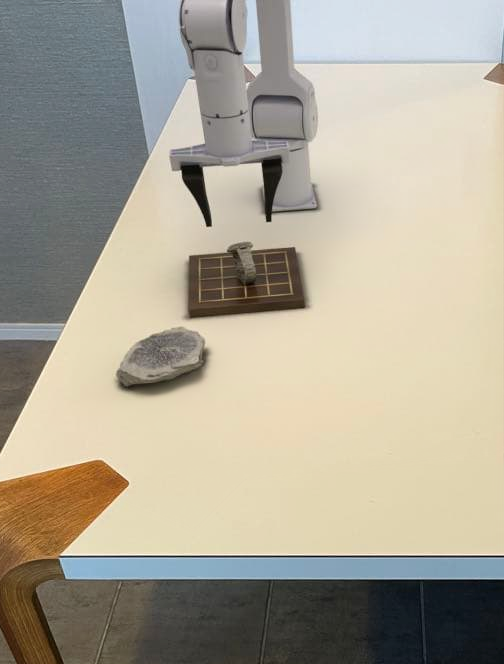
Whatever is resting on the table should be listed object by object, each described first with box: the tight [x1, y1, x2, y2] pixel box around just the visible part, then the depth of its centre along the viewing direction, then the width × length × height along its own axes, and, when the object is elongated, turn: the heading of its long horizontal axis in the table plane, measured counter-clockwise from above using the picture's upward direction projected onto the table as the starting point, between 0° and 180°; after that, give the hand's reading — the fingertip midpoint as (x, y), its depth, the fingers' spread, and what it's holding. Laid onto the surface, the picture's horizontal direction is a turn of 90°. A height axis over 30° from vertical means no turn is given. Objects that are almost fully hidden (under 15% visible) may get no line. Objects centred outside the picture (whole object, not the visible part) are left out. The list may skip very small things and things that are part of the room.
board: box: [187, 246, 306, 318], centre depth 116 cm, size 15×15×1 cm
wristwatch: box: [226, 241, 256, 284], centre depth 113 cm, size 4×6×5 cm, turn 22°
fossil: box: [115, 326, 206, 387], centre depth 101 cm, size 11×4×10 cm
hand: (238, 221), depth 111 cm, fingers open, 7 cm apart
